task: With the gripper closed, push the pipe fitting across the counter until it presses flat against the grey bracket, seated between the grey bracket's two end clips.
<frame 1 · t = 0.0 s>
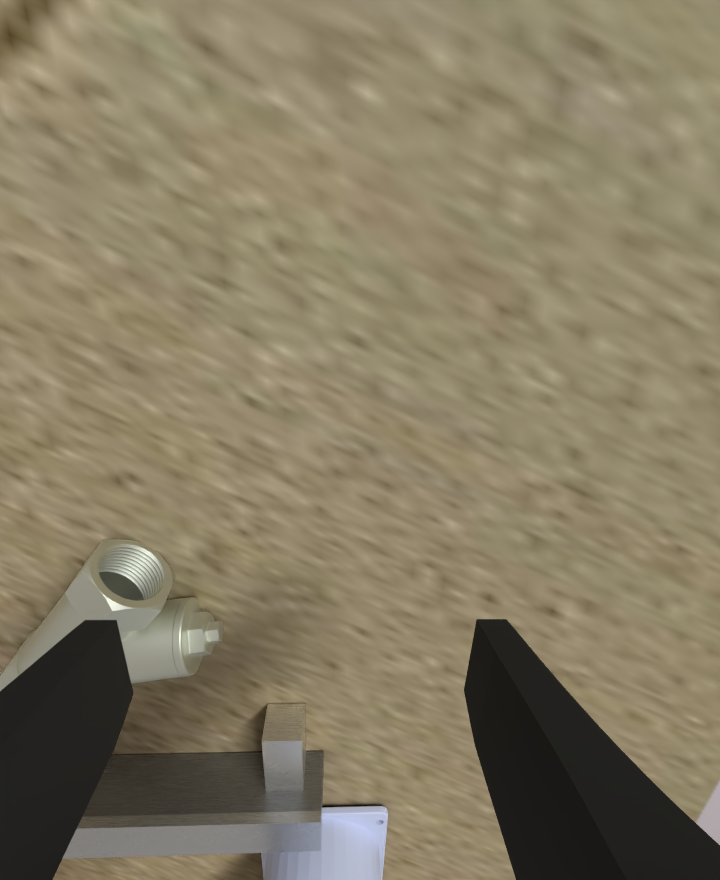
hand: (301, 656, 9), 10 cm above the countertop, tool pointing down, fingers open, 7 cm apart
grey bracket: (167, 765, 26), on the countertop
pipe fitting: (140, 611, 22), on the countertop
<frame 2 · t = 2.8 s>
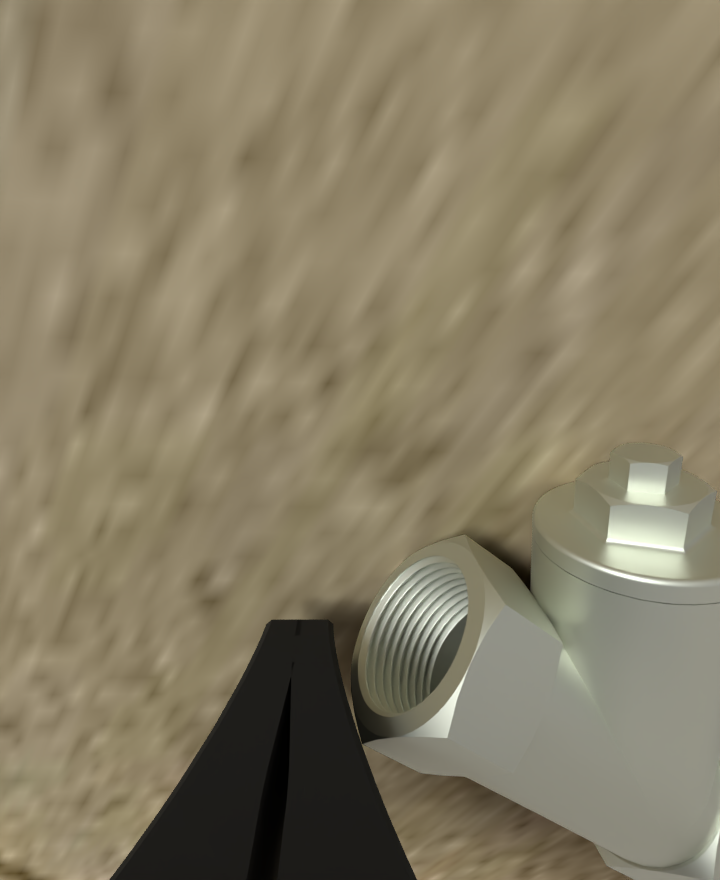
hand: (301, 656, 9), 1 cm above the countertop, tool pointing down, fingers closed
pipe fitting: (571, 592, 10), on the countertop, touching gripper
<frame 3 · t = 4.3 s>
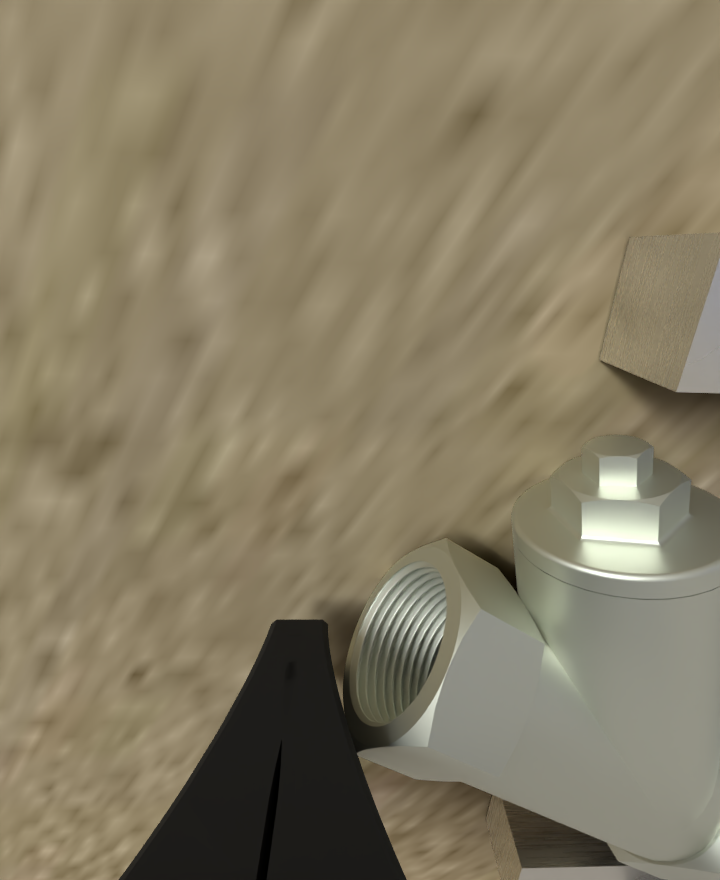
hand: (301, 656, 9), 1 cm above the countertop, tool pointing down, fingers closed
pipe fitting: (567, 586, 10), on the countertop, touching gripper, grey bracket
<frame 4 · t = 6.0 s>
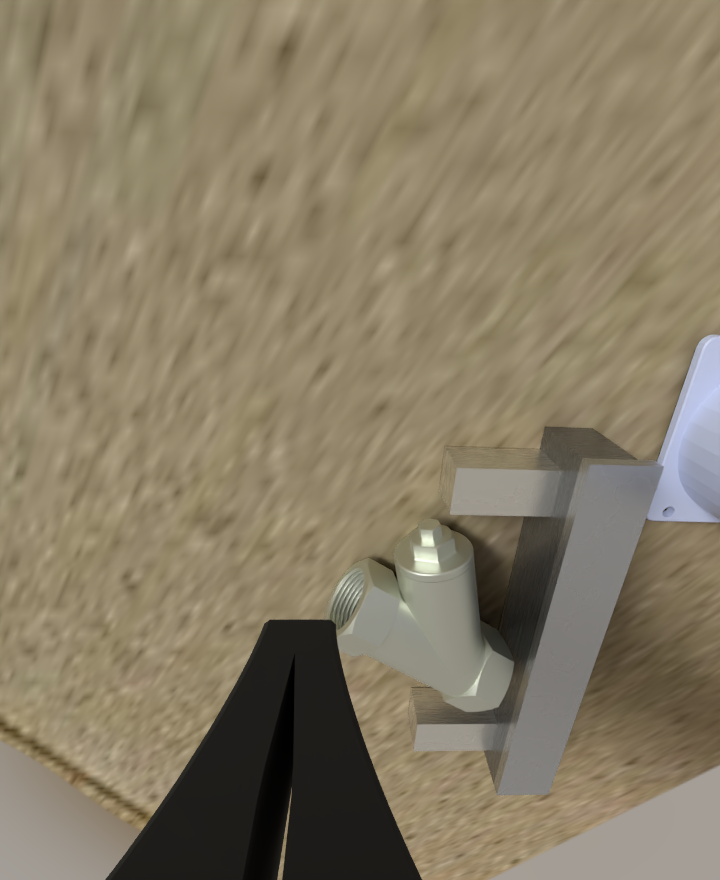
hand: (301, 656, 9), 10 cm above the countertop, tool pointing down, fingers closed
grey bracket: (525, 600, 22), on the countertop
pipe fitting: (432, 579, 21), on the countertop
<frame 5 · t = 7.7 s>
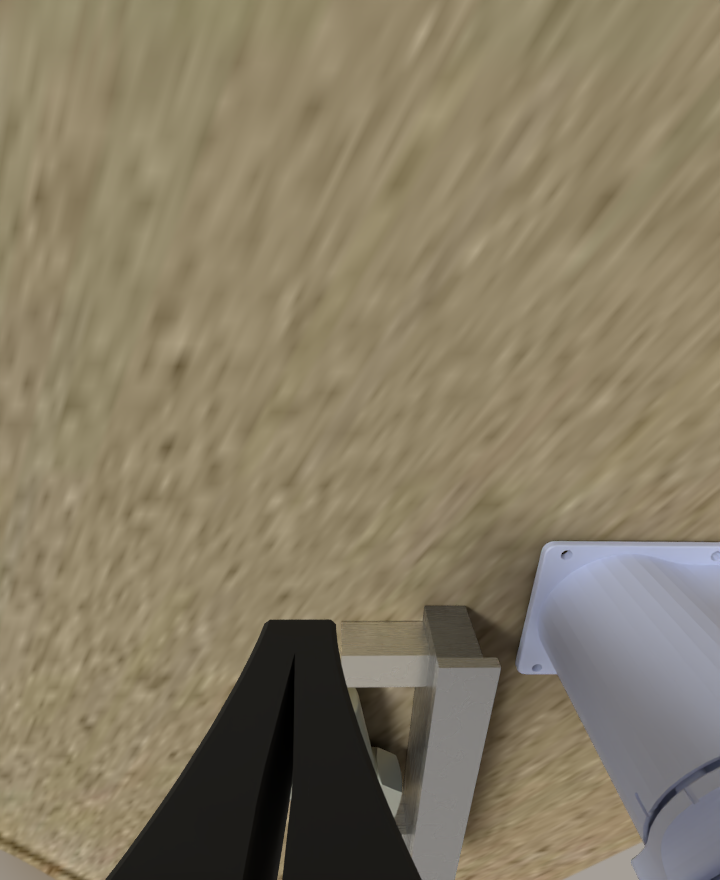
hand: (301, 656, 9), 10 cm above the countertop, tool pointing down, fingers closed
grey bracket: (427, 729, 25), on the countertop
pipe fitting: (339, 712, 25), on the countertop
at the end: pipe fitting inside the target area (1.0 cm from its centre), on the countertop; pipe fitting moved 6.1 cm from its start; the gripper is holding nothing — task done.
